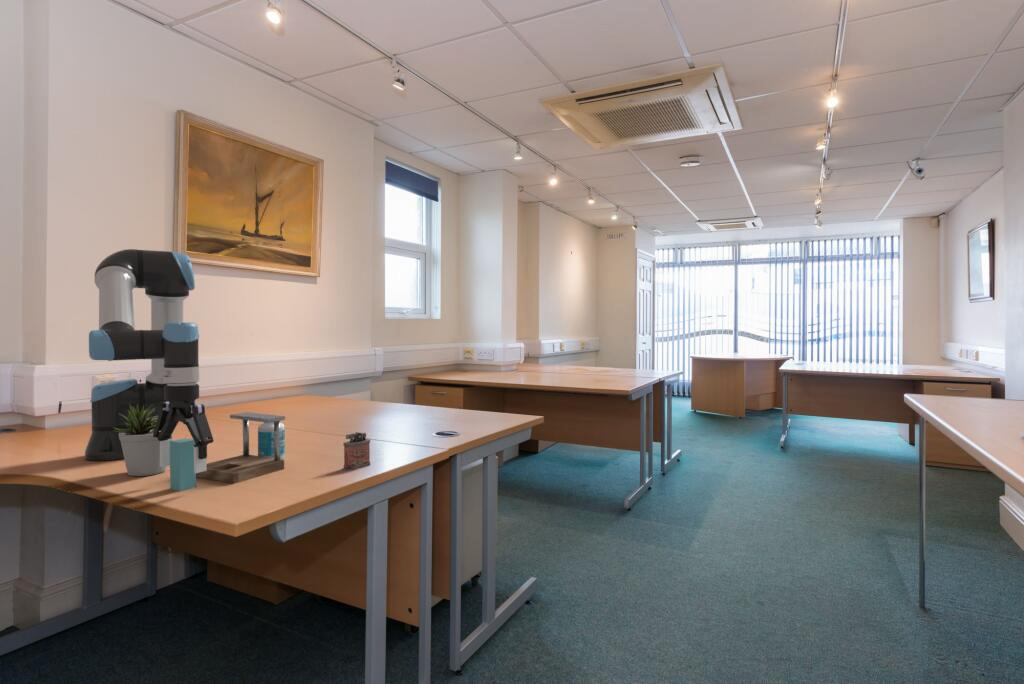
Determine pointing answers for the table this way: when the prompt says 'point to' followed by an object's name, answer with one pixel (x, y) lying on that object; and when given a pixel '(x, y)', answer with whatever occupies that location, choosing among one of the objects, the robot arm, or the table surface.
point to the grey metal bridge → (260, 418)
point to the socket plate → (240, 468)
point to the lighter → (356, 451)
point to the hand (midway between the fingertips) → (183, 468)
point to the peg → (182, 464)
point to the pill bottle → (270, 440)
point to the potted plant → (140, 444)
